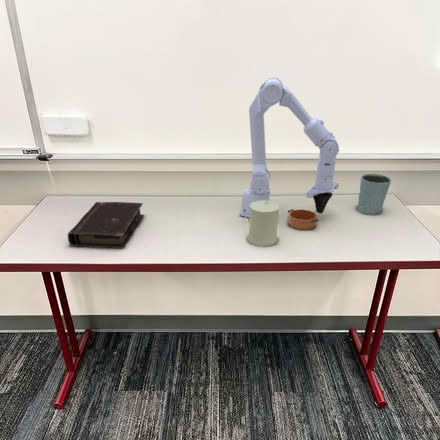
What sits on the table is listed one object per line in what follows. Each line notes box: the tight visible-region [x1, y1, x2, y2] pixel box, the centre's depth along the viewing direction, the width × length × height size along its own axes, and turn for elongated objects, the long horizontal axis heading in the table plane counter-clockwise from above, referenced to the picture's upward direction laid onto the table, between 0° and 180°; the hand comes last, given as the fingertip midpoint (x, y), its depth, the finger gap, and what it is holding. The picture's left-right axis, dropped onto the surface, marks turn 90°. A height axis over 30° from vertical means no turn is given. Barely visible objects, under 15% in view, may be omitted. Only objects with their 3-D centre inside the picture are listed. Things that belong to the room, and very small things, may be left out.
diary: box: [67, 201, 145, 249], centre depth 141 cm, size 19×25×5 cm
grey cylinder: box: [356, 173, 392, 216], centre depth 153 cm, size 10×10×12 cm
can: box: [247, 200, 280, 247], centre depth 133 cm, size 9×9×12 cm
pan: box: [287, 208, 320, 231], centre depth 145 cm, size 9×12×4 cm
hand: (319, 212), depth 149 cm, fingers closed
